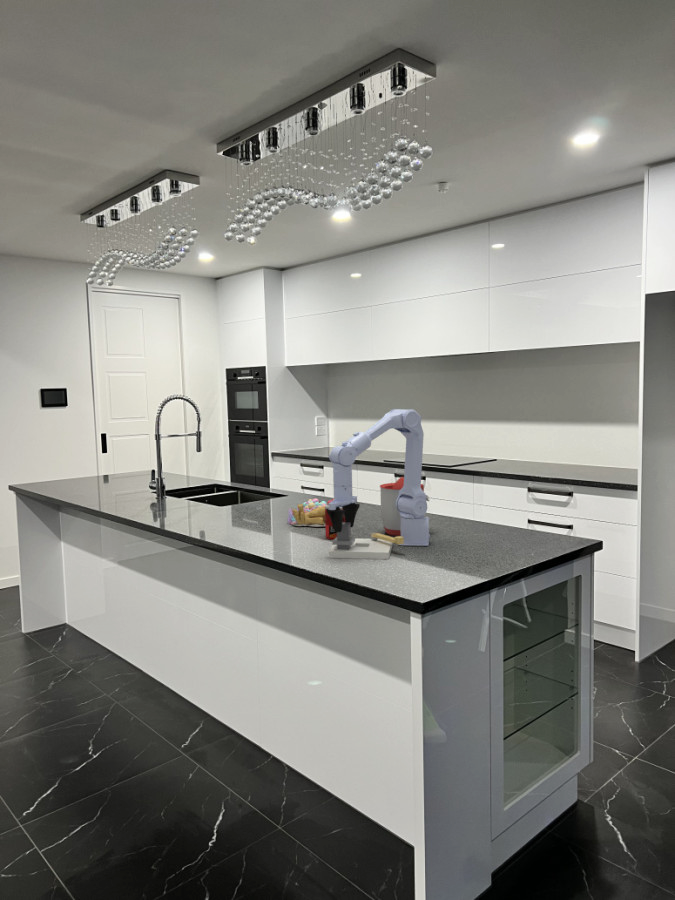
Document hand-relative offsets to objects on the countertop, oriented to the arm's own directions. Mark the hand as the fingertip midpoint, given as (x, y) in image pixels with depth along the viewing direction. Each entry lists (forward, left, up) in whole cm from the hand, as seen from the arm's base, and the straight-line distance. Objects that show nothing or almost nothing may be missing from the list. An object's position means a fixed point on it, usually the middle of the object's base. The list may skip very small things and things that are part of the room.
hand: (343, 529), depth 206 cm
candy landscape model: (+17, -51, -8) cm, 54 cm away
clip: (-12, -7, -6) cm, 15 cm away
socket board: (-5, -4, -8) cm, 10 cm away
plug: (0, 0, -6) cm, 6 cm away
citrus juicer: (-17, -31, -8) cm, 37 cm away
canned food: (+6, -23, -8) cm, 26 cm away
